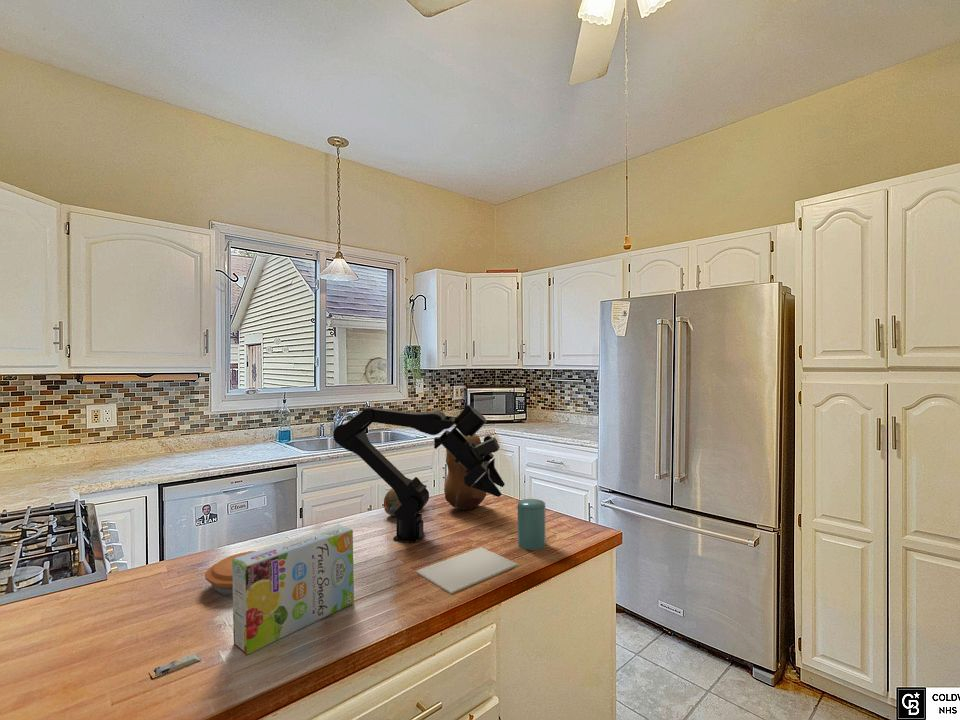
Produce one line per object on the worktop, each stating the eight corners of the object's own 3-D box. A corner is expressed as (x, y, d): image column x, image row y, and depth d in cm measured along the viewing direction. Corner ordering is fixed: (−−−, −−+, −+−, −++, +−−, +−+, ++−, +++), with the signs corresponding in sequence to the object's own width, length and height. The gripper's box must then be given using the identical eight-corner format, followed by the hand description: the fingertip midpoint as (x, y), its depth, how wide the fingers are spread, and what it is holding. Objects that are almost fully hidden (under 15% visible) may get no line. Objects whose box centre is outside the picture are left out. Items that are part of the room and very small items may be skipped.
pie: (207, 609, 91) (207, 584, 91) (203, 578, 104) (202, 556, 104) (290, 588, 100) (290, 564, 100) (277, 561, 113) (277, 541, 113)
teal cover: (514, 547, 121) (514, 505, 121) (522, 537, 127) (522, 497, 127) (541, 551, 118) (541, 508, 118) (547, 541, 125) (547, 500, 125)
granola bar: (197, 656, 78) (197, 650, 78) (201, 663, 76) (201, 656, 76) (148, 675, 73) (148, 668, 73) (151, 683, 71) (151, 676, 71)
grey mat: (451, 594, 97) (451, 592, 97) (415, 572, 107) (415, 570, 107) (517, 565, 110) (517, 563, 110) (481, 548, 120) (481, 547, 120)
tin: (388, 519, 142) (388, 492, 142) (382, 517, 144) (381, 490, 144) (423, 507, 154) (423, 481, 154) (416, 505, 156) (416, 480, 155)
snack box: (338, 595, 97) (338, 522, 97) (354, 604, 93) (354, 529, 93) (231, 643, 80) (231, 556, 80) (246, 657, 77) (246, 566, 77)
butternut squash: (468, 499, 162) (468, 427, 162) (494, 509, 151) (494, 432, 151) (435, 507, 153) (435, 431, 153) (460, 518, 142) (460, 436, 142)
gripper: (476, 433, 115) (521, 478, 114) (486, 422, 134) (525, 461, 132) (445, 464, 117) (489, 509, 115) (459, 449, 135) (497, 488, 133)
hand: (502, 490), depth 124 cm, fingers open, 9 cm apart
